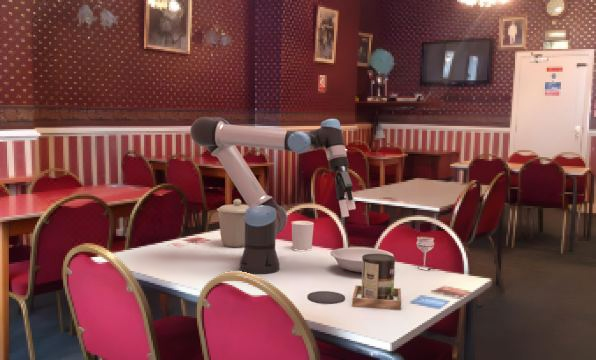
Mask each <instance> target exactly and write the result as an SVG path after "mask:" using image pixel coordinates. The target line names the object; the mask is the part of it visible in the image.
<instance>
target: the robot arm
mask: <svg viewBox="0 0 596 360" xmlns="http://www.w3.org/2000/svg"><path fill="white" fill-rule="evenodd" d="M190 136H191V139H192V140H193V142H194V143H195V144H196V145H198V146H201V147H206V149H207V150H208V152H209V154H210V155H211V156H212V157H216V158H217V159H218V161H219V162H220V164H221V165H222V167H223V169H224V171H226V173H227V175H228V176H229V178H230V180H231V181H232V182H233V184H234V185H235V188H236V189H237V191H238V192H239V194H240V196H241V197H242V198H243V200H244V202H245V204H246V205H248V206H249V208H248V209H247V210H246V212H245V247H243V253H242V255H241V258H240V261H239V270H240V271H242V272H244V271H245V272H244V273H249V274H261V275H262V274H272V273H275V272H276V273H277V272H278V271H279V270H280V261H279V257H278V253H277V251H276V239H277V238H276V235H278V234H279V233H281V232H283V230H284V229H285V227H286V225H287V223H288V216H287V215H288V214H287V212H286V210H285V209H284V208H283V207H282V206H281V205H279V204H278V203H277V202H276V200H275V199H274V197H273V196H271V195H267V193H266V191H265V190H264V189H263V187H262V185H261V184H260V182H259V181H258V179H257V178H256V176H255V175H254V173H253V171H252V169H251V168H250V167H249V165H248V163H247V161H246V160H245V159H244V157H243V155H242V154H241V152H240V151H239V150H238V148H237V146H239V147H247V148H258V149H264V150H265V149H267V150H275V151H287V152H291V153H292V152H294V153H296V154H297V155H299V154H304V153H308V152H312V151H316V150H319V149H323V148H325V154H326V155H325V156H326V159H327V161H328V168H329V171H331V172H335V175H334V176H333V178H334V182H335V192H336V200H337V201H338V204H339V209H340V215H341V218H347V217H350V214H349V211H352V210H356V208H357V207H356V204H355V199H354V198H355V197H354V194H353V193H354V192H353V187H354V185H353V182H352V180H351V177H350V175H349V171H348V168H349V167H350V164H349V158H348V157H347V156H348V155H347V152H348V149H346V144H345V140H344V135H343V130H342V127H341V123H340V120H338V119H337V118H328V119H325V120H323V121H322V122H321V123H320V127H319V128H317V129H313V130H309V131H296V130H295V131H293V130H287V129H275V128H265V127H257V126H256V127H255V126H247V125H237V124H230V123H229V122H228V121H227V120H225V119H224V118H222V117H220V116H218V117H217V116H212V117H211V116H202V117H199V118H197V119H196V120H194V121H193V123H192V124H191V127H190Z"/></svg>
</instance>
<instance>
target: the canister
mask: <svg viewBox="0 0 596 360" xmlns="http://www.w3.org/2000/svg"><path fill="white" fill-rule="evenodd" d="M248 208H249V206H248V205H247V204H242V200H241V199H240V198H235V199H234V200H233V204H224V205H221V206H220V207H219V208H216V211H217V212H218V221H219V223H218V224H219V233H220V240H221V243H222V244H223V246H226V247H228V248H245V212H246V210H247V209H248Z"/></svg>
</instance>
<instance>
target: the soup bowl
mask: <svg viewBox="0 0 596 360" xmlns="http://www.w3.org/2000/svg"><path fill="white" fill-rule="evenodd" d="M329 253H330V256H331V257H333V258H334V260H335V261H336V262H337V264H338V265H340V267H342V268H343V269H345V270H347V271H351V272H356V273H362V263H363V259H362V256H363V255H366V254H386V255H391V256H393V257H395V256H394V254H393V253H392V252H390V251H387V250H383V249H378V248H373V247H360V246H359V247H342V248H341V247H340V248H336V249H333V250H331V251H330V252H329Z"/></svg>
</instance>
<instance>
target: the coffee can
mask: <svg viewBox="0 0 596 360" xmlns="http://www.w3.org/2000/svg"><path fill="white" fill-rule="evenodd" d="M362 259H363V263H362V272H361V286H362V294H360V296H361V297H360V298H370V299H384V300H394V297H395V296H394V288H395V271H396V270H395V267H396V266H395V265H396V257H395V256H394V257H393V256H391V255H386V254H366V255H363V256H362Z"/></svg>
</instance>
